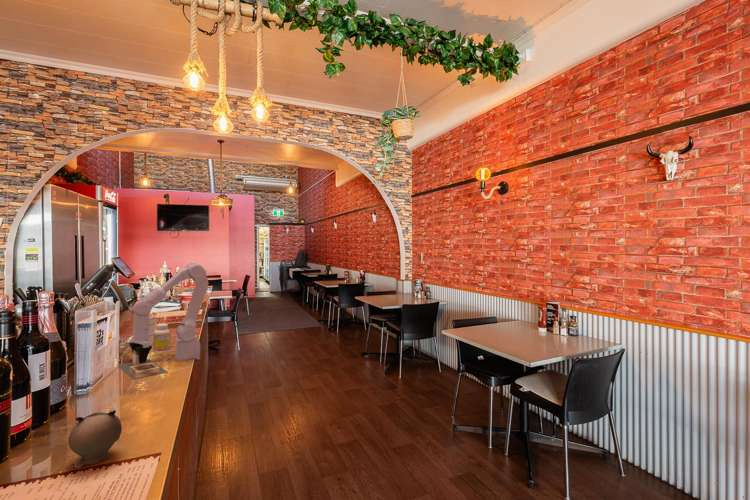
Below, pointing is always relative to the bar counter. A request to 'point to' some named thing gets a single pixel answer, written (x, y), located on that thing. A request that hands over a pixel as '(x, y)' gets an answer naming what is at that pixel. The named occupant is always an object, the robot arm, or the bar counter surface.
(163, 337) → the supplement bottle
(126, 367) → the mat
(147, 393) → the bar counter surface
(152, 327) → the syrup box
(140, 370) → the frame
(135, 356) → the plug
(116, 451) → the bar counter surface
